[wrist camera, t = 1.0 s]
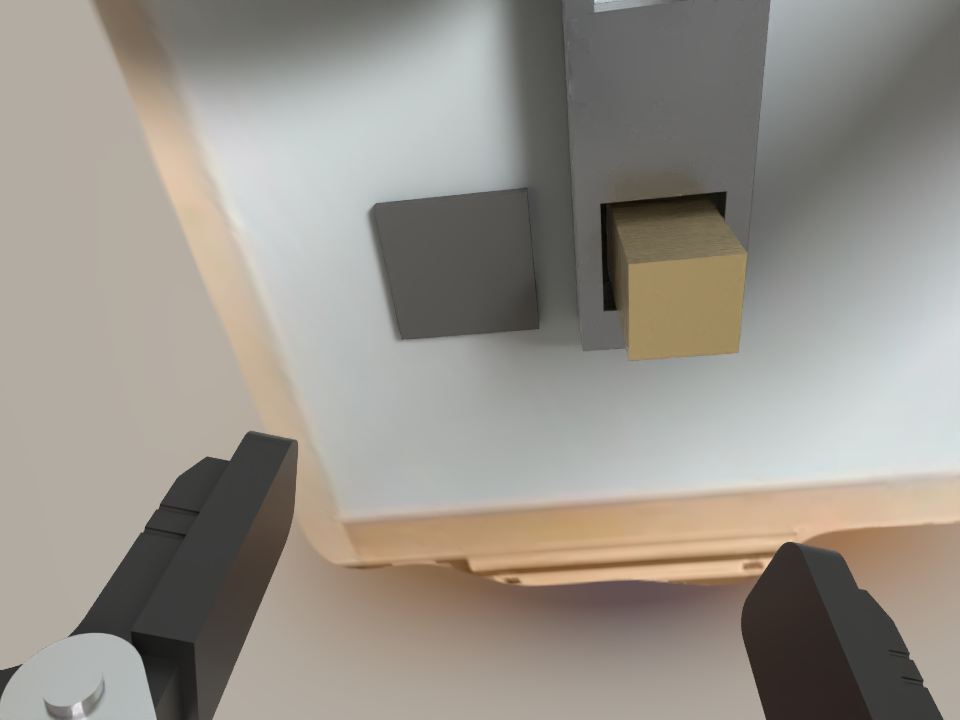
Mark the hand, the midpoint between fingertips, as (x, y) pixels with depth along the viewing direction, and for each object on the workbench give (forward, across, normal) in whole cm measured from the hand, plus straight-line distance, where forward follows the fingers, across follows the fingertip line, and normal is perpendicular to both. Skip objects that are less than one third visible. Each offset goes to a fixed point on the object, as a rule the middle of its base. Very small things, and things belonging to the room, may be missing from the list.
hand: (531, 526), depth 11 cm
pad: (+22, +2, +6) cm, 23 cm away
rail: (+22, -4, -4) cm, 23 cm away
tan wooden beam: (+22, -6, +2) cm, 23 cm away
